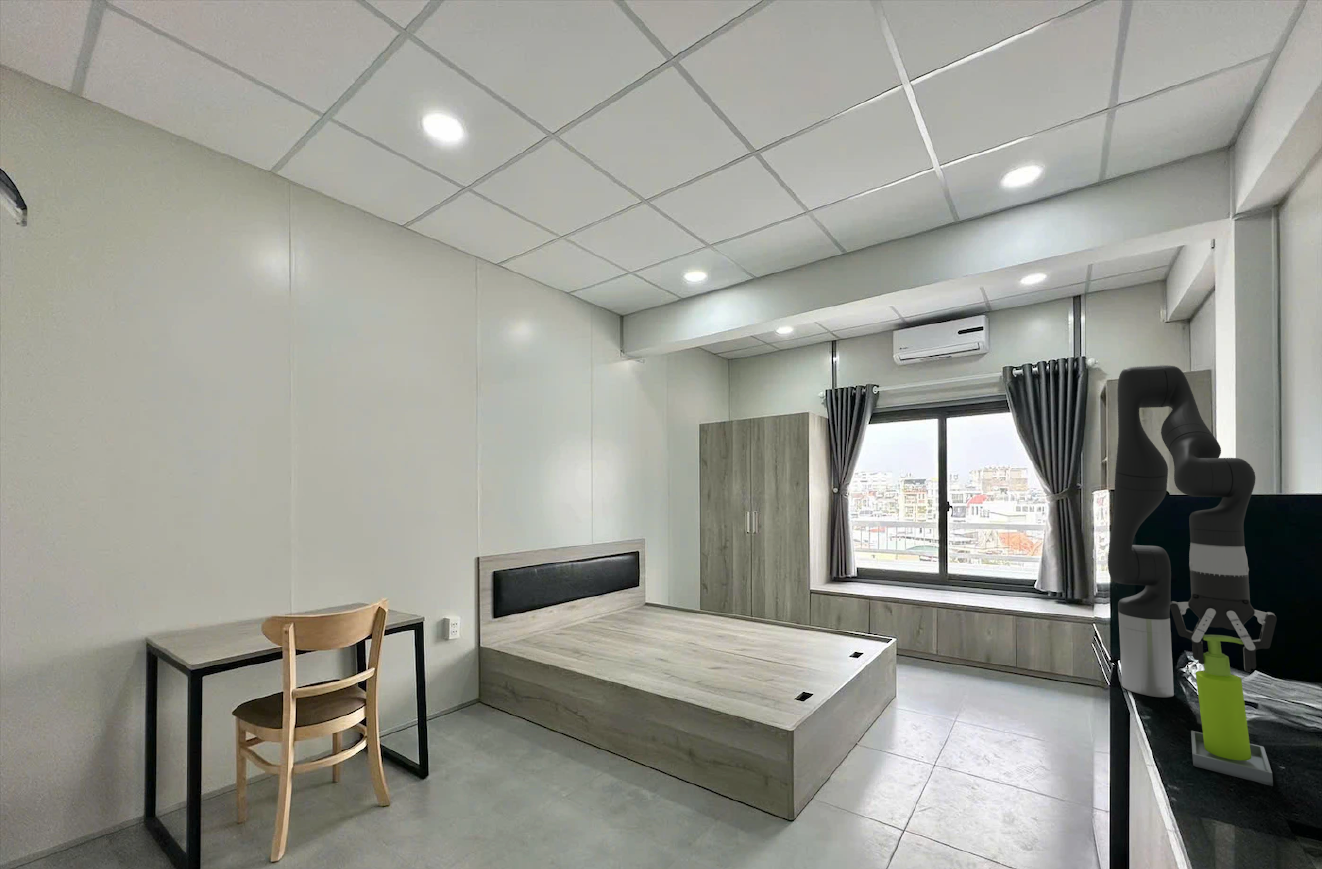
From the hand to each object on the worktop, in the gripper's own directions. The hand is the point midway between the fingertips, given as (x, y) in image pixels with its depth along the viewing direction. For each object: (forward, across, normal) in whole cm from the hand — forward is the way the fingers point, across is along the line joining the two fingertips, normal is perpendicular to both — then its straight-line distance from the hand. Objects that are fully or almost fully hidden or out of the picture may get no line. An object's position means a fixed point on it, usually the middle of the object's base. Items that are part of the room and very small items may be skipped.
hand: (1223, 666), depth 102 cm
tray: (+16, 0, 0) cm, 16 cm away
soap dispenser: (+15, 0, 0) cm, 15 cm away
